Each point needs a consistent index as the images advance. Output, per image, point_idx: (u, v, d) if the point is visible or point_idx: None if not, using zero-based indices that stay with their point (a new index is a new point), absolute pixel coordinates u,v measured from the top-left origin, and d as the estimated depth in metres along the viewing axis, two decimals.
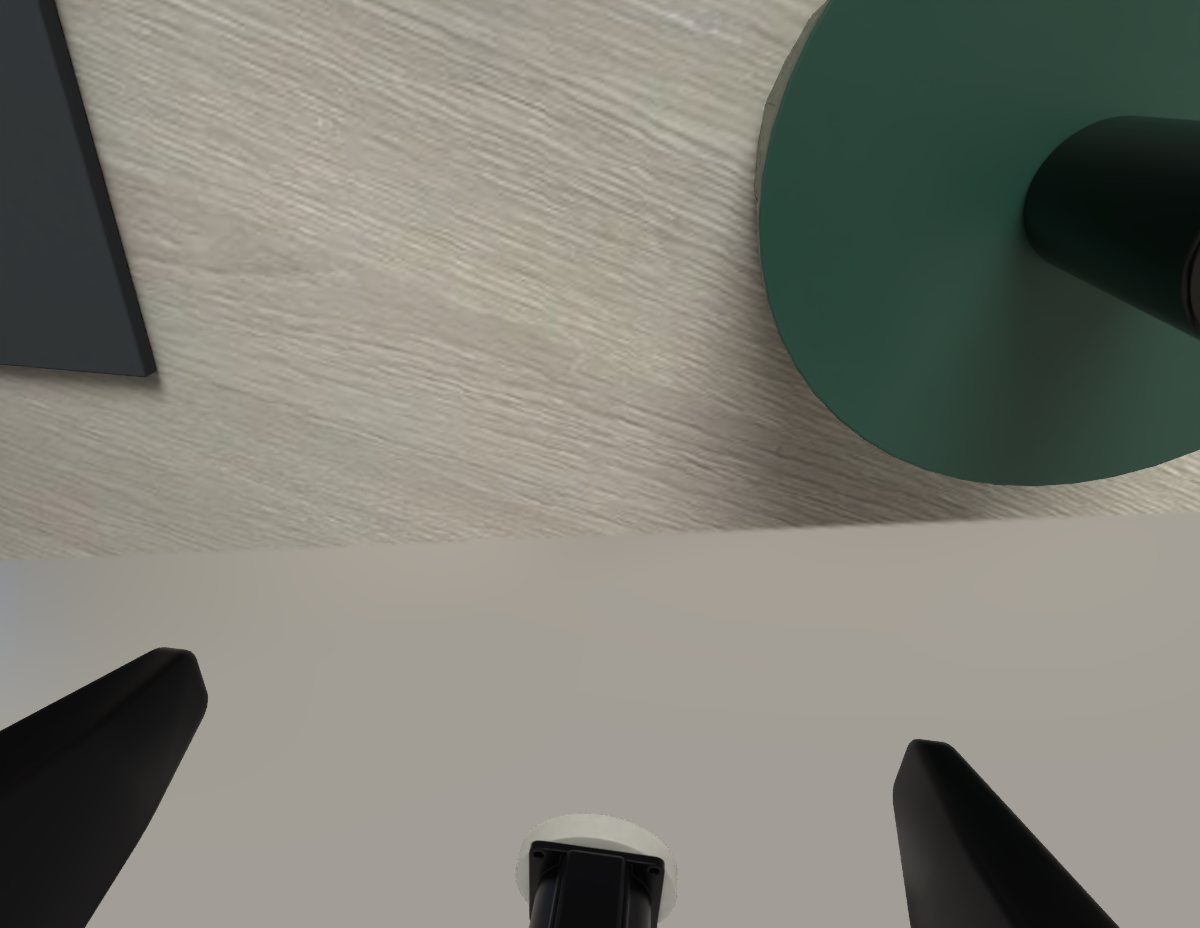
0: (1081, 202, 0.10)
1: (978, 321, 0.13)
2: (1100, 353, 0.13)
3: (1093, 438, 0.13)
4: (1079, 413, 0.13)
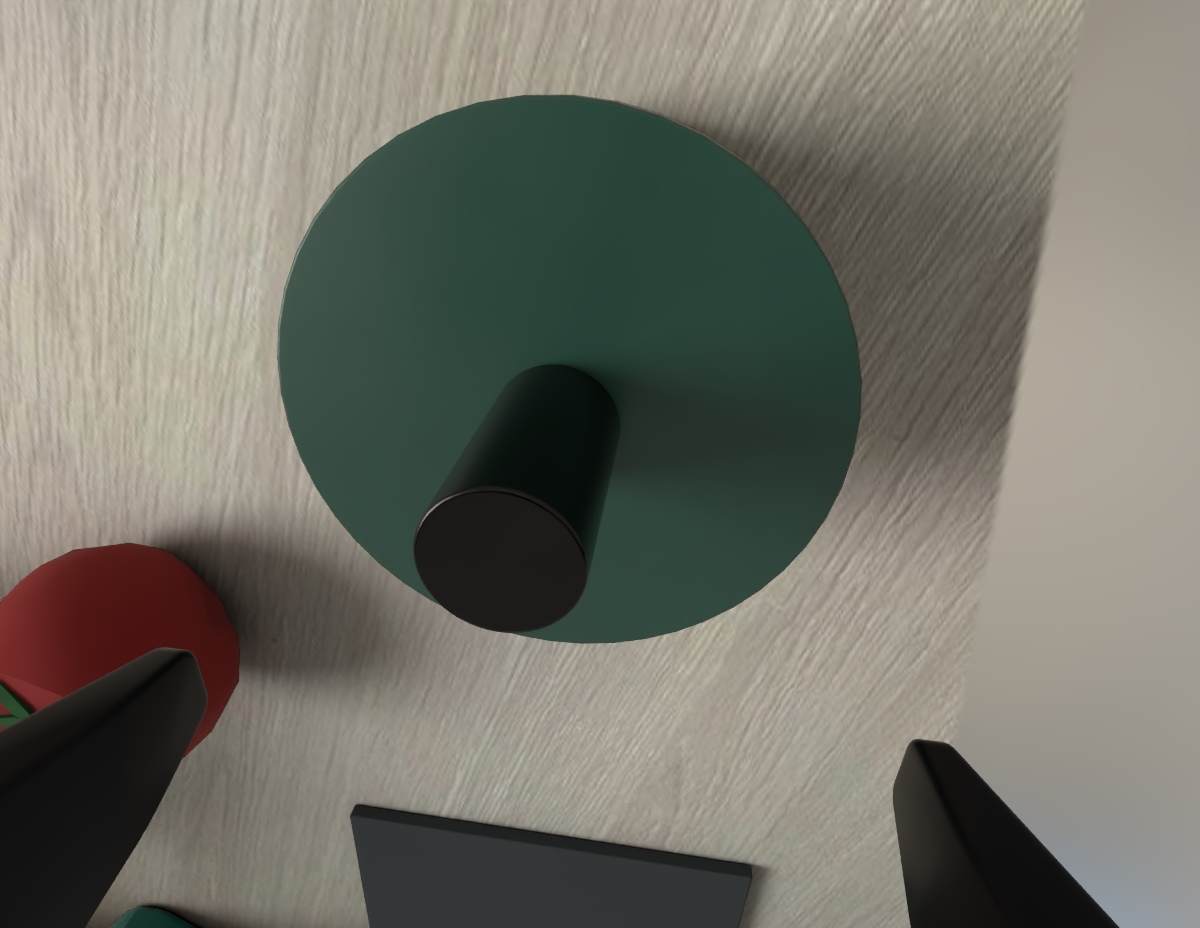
0: None
1: (666, 495, 0.14)
2: (702, 391, 0.13)
3: (802, 375, 0.12)
4: (769, 395, 0.13)
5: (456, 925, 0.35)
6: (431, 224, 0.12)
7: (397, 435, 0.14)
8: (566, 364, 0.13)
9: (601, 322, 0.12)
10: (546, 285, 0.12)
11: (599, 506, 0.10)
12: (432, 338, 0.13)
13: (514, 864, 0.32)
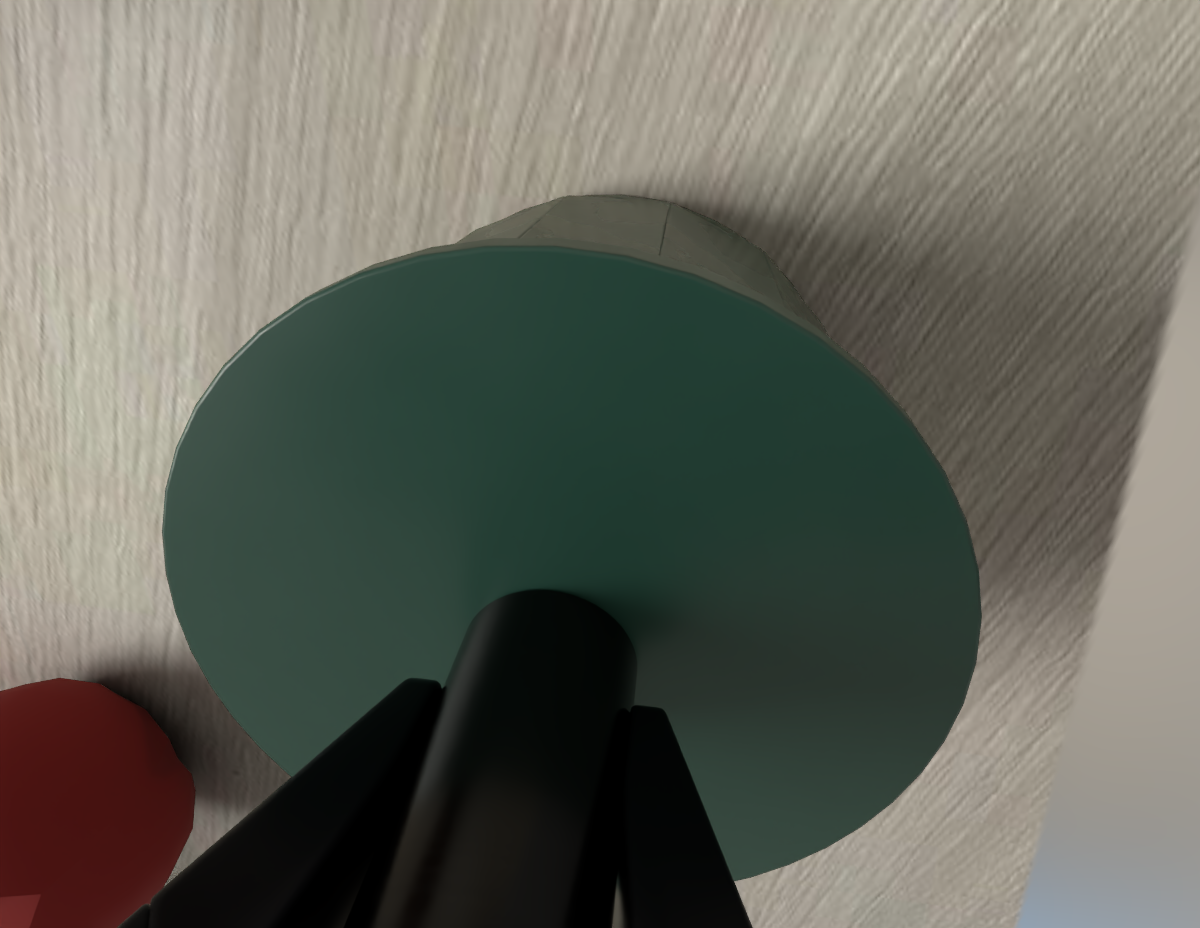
0: None
1: (701, 742, 0.10)
2: (753, 625, 0.09)
3: (896, 611, 0.09)
4: (848, 632, 0.09)
5: None
6: (360, 415, 0.08)
7: (334, 664, 0.10)
8: (560, 589, 0.09)
9: (609, 540, 0.09)
10: (529, 494, 0.08)
11: (613, 886, 0.07)
12: (373, 554, 0.09)
13: None
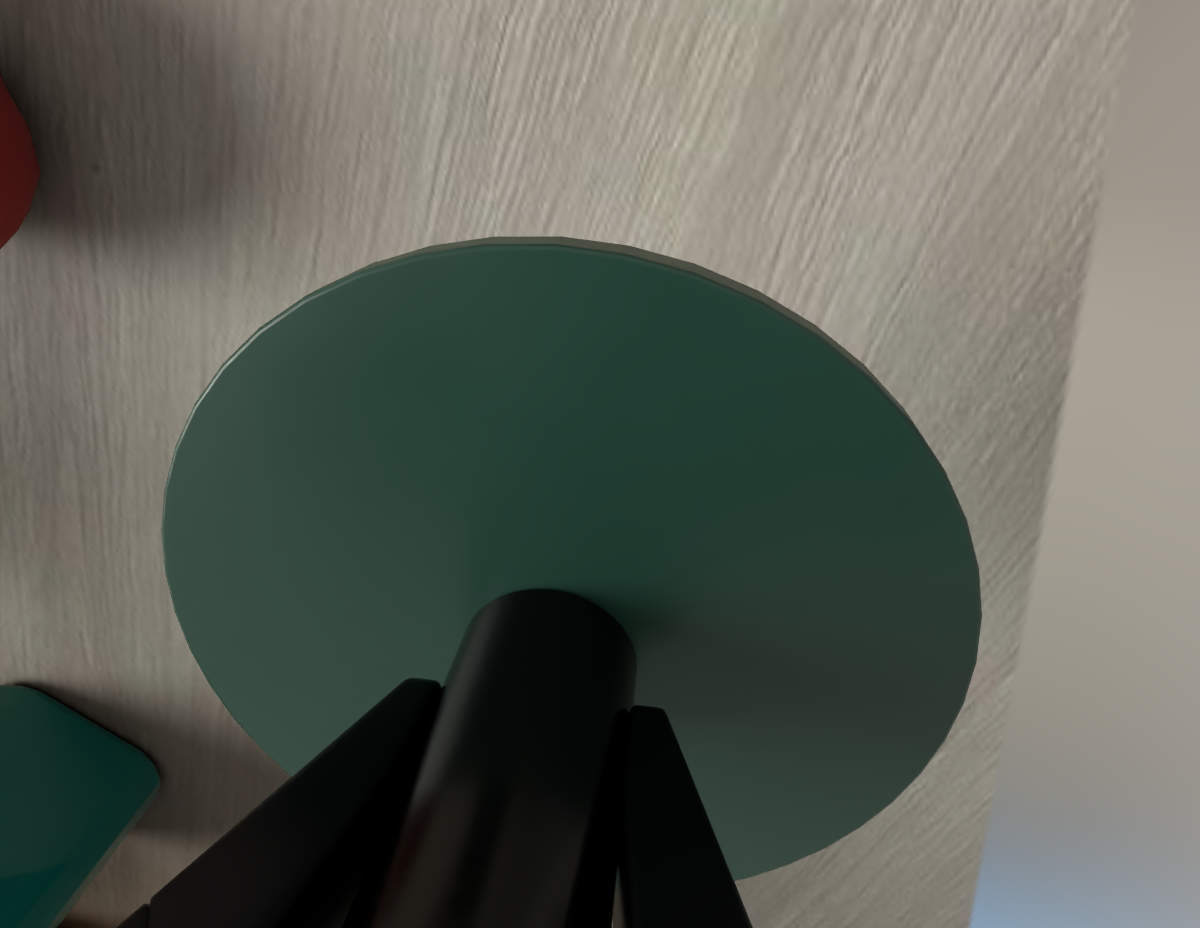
0: None
1: (700, 741, 0.10)
2: (752, 625, 0.09)
3: (896, 610, 0.09)
4: (848, 632, 0.09)
5: None
6: (360, 414, 0.08)
7: (334, 663, 0.10)
8: (560, 588, 0.09)
9: (608, 539, 0.09)
10: (529, 492, 0.08)
11: (612, 886, 0.07)
12: (372, 553, 0.09)
13: None
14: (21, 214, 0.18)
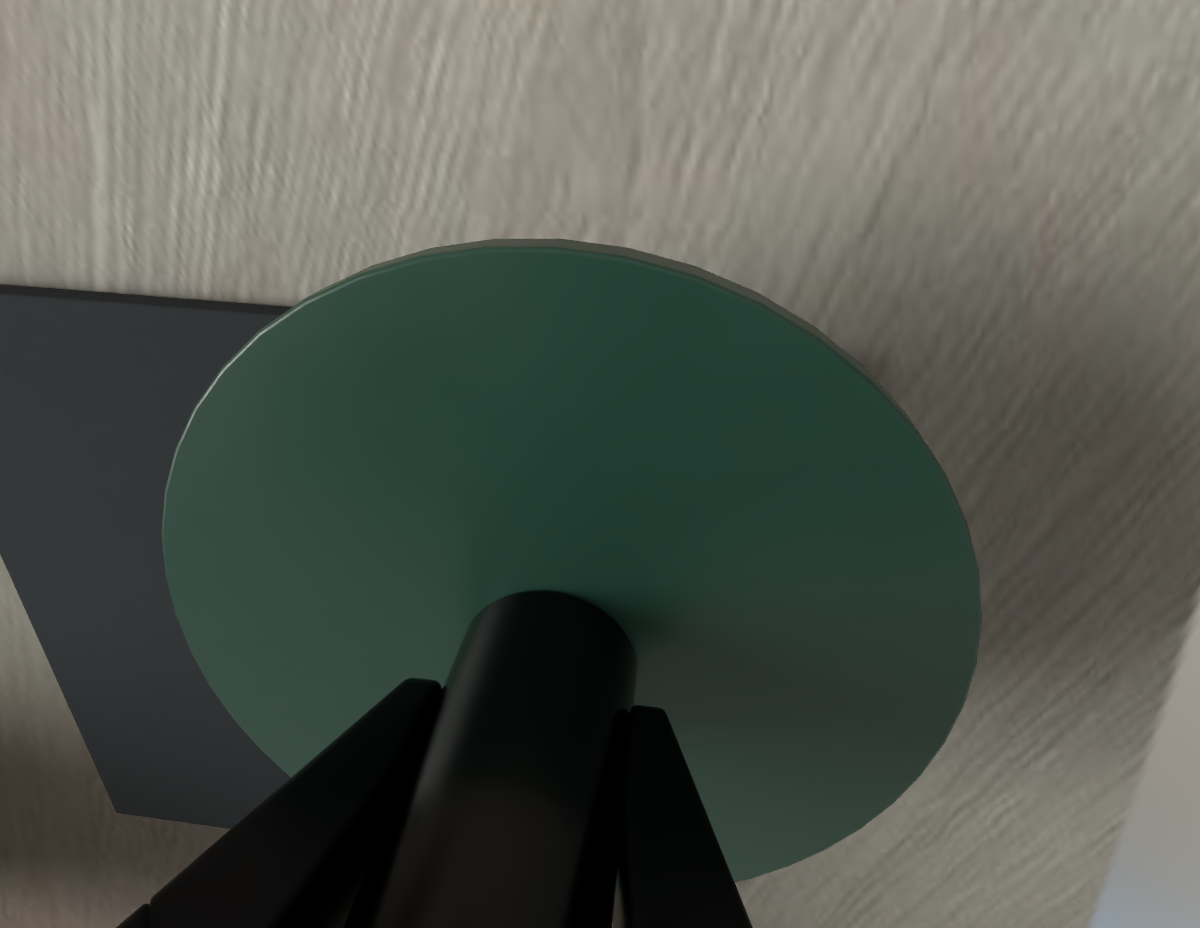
0: None
1: (700, 743, 0.10)
2: (753, 626, 0.09)
3: (896, 612, 0.09)
4: (848, 633, 0.09)
5: None
6: (360, 416, 0.08)
7: (334, 665, 0.10)
8: (560, 590, 0.09)
9: (608, 541, 0.09)
10: (529, 494, 0.08)
11: (612, 888, 0.07)
12: (372, 555, 0.09)
13: None
14: None
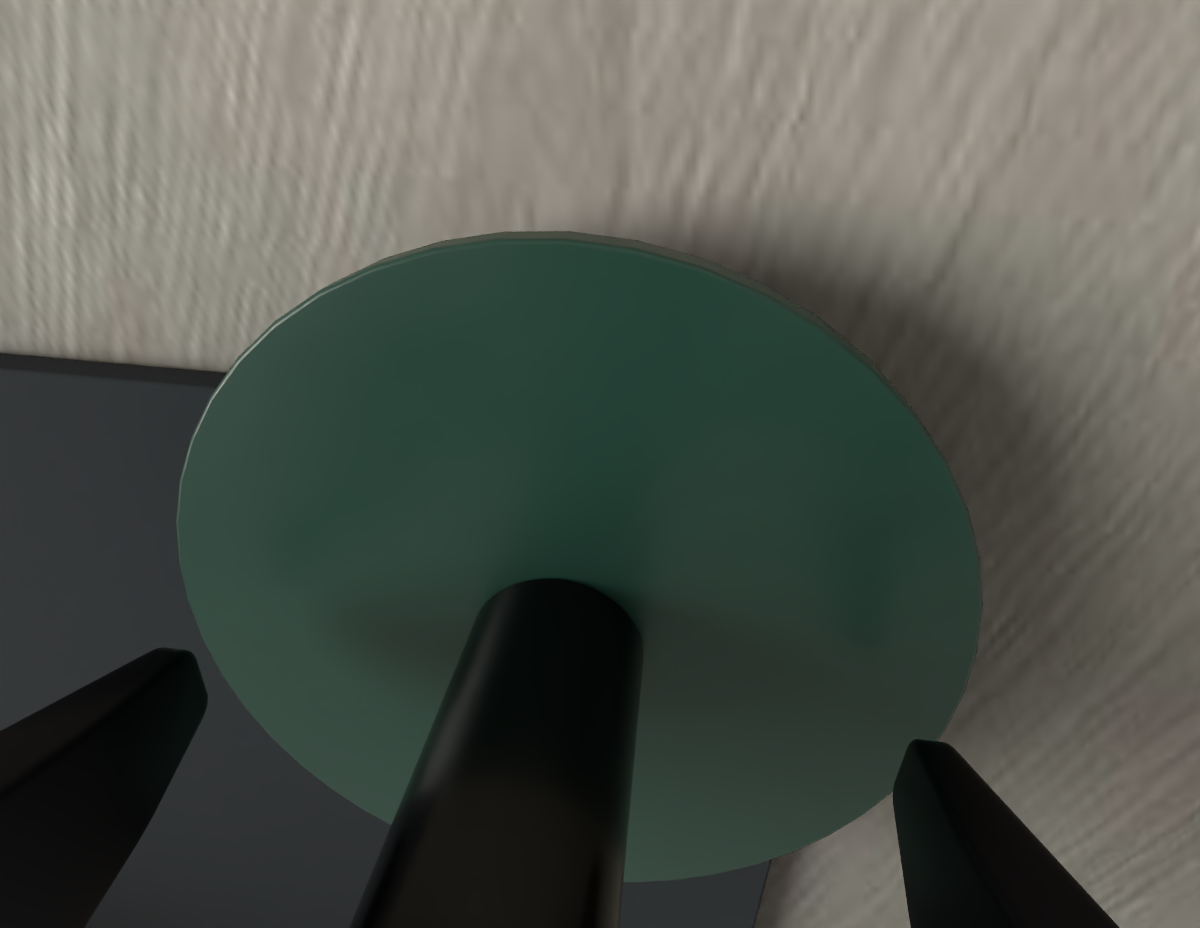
0: None
1: (705, 729, 0.10)
2: (757, 613, 0.09)
3: (898, 598, 0.09)
4: (851, 620, 0.09)
5: None
6: (373, 406, 0.08)
7: (345, 653, 0.10)
8: (568, 578, 0.09)
9: (616, 529, 0.09)
10: (538, 483, 0.09)
11: (622, 864, 0.07)
12: (384, 543, 0.09)
13: (153, 483, 0.11)
14: None
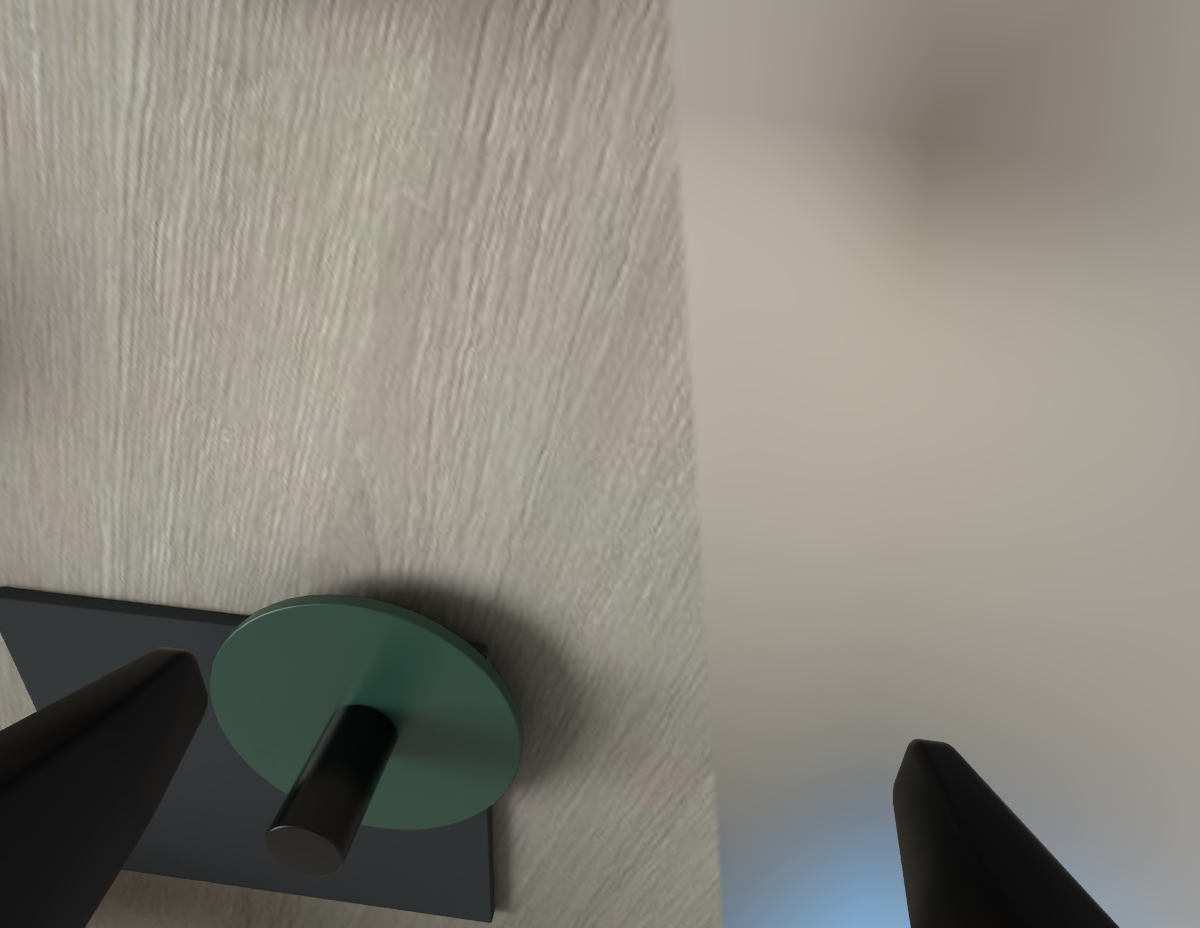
0: None
1: (428, 762, 0.25)
2: (436, 719, 0.24)
3: (484, 715, 0.23)
4: (470, 722, 0.24)
5: None
6: (285, 647, 0.23)
7: (279, 730, 0.25)
8: (364, 705, 0.24)
9: (378, 689, 0.23)
10: (348, 673, 0.23)
11: (359, 810, 0.21)
12: (292, 691, 0.24)
13: (197, 657, 0.25)
14: None
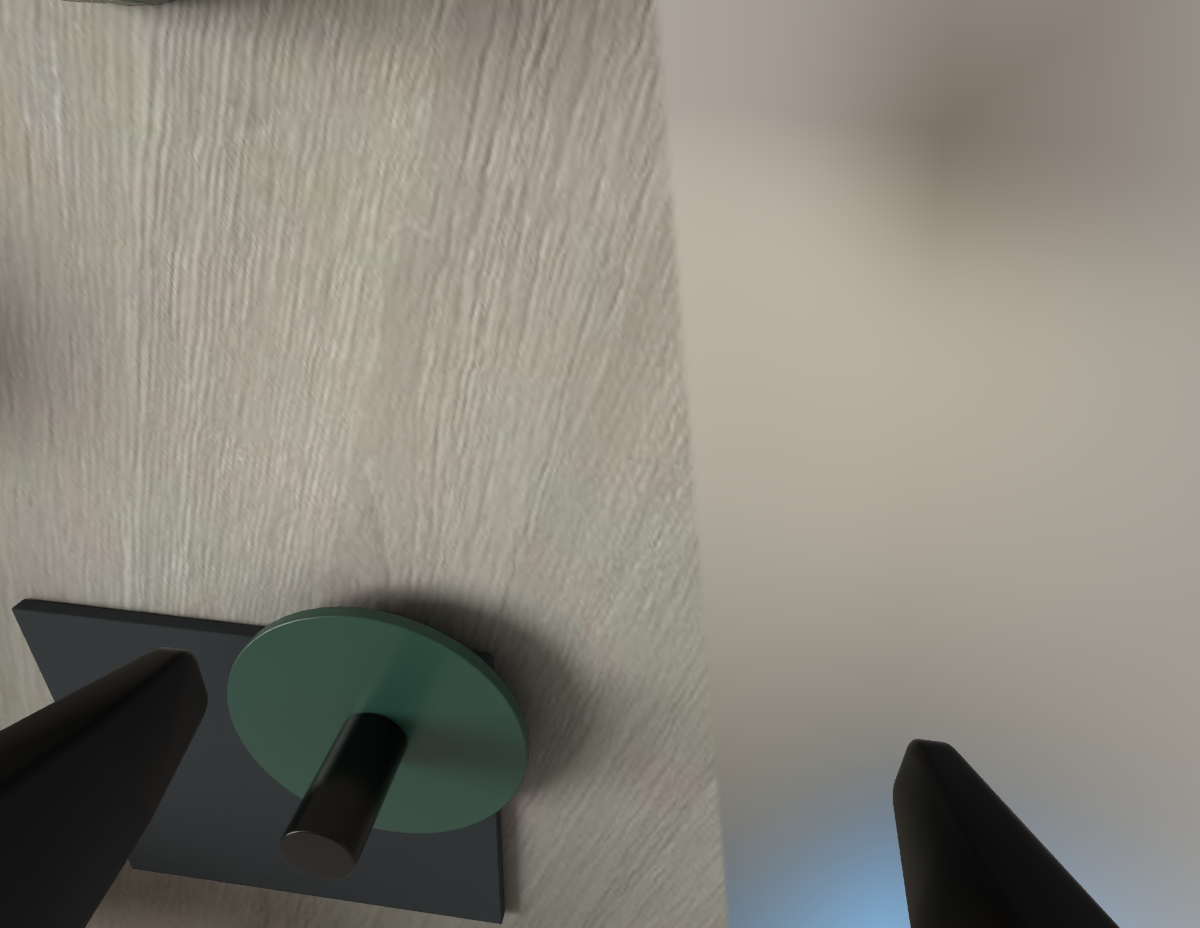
0: None
1: (438, 768, 0.26)
2: (445, 726, 0.24)
3: (491, 722, 0.24)
4: (478, 729, 0.24)
5: None
6: (299, 657, 0.24)
7: (293, 737, 0.26)
8: (375, 713, 0.25)
9: (388, 697, 0.24)
10: (359, 682, 0.24)
11: (371, 815, 0.22)
12: (306, 699, 0.25)
13: (215, 666, 0.26)
14: None
